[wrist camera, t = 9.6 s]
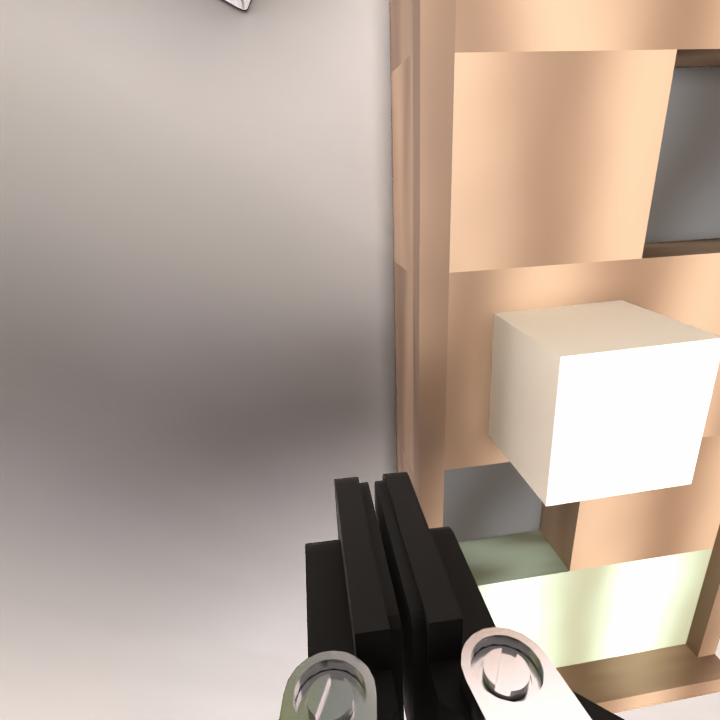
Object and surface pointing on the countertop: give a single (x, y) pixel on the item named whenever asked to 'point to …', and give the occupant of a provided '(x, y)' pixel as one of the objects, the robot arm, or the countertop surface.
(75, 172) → the countertop surface
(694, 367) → the cream block
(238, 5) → the tea box
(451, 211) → the trap board
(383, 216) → the countertop surface
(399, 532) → the robot arm
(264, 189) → the countertop surface
